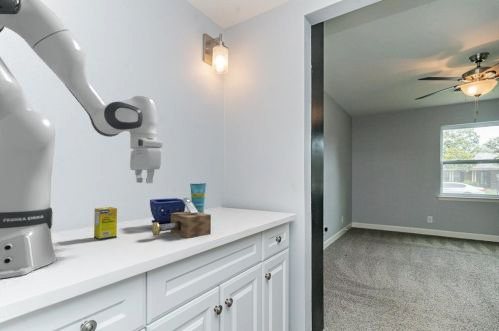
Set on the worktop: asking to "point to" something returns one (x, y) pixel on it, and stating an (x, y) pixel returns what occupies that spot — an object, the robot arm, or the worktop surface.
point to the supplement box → (105, 223)
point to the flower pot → (165, 209)
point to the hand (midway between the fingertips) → (144, 183)
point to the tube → (198, 196)
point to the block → (192, 224)
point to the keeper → (190, 206)
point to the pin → (164, 227)
